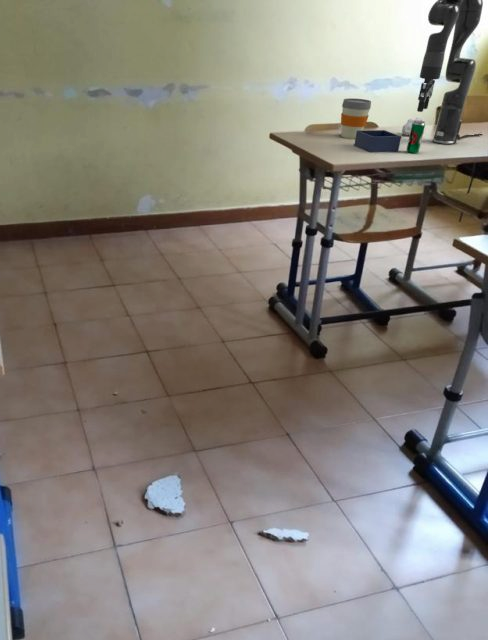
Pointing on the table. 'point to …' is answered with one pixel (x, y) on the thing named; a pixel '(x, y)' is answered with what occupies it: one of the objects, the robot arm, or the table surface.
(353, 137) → the reusable coffee cup
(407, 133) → the skull
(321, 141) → the table surface
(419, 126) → the soda can
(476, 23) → the robot arm
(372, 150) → the tote
